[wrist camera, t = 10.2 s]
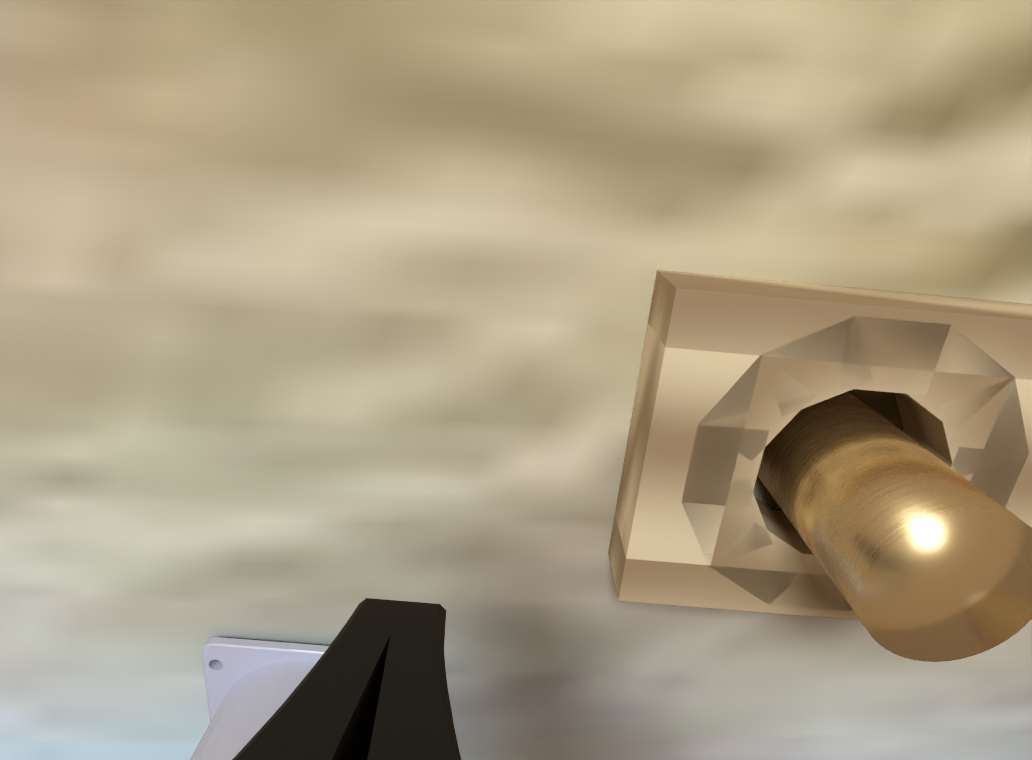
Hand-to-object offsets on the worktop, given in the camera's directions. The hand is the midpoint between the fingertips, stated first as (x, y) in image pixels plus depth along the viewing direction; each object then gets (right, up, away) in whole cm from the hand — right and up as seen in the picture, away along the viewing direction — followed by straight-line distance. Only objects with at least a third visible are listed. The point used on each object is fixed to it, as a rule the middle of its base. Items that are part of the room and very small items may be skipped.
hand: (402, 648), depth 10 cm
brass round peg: (+12, +2, +10) cm, 15 cm away
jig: (+12, +3, +10) cm, 15 cm away
